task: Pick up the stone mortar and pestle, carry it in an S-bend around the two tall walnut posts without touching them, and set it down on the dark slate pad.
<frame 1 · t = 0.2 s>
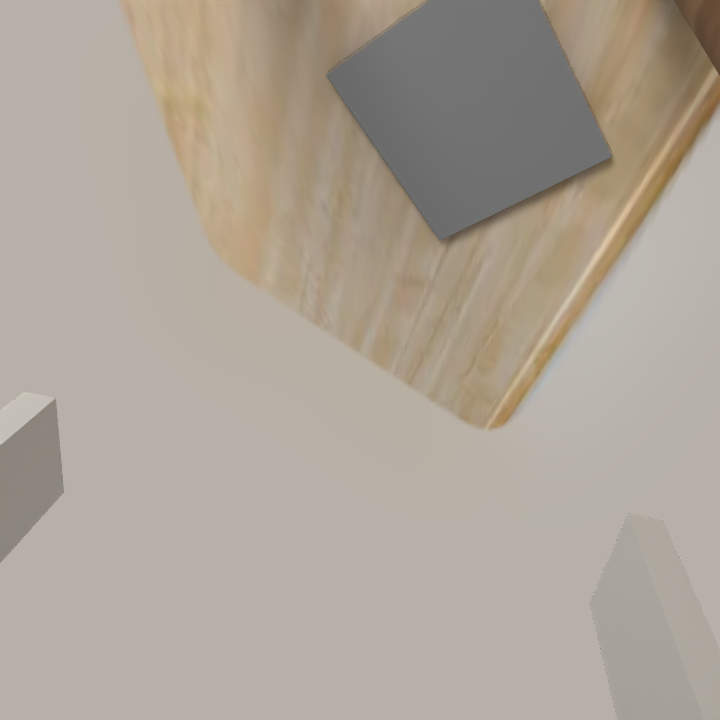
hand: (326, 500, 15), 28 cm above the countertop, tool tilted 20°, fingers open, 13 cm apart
slate pad: (470, 110, 35), on the countertop
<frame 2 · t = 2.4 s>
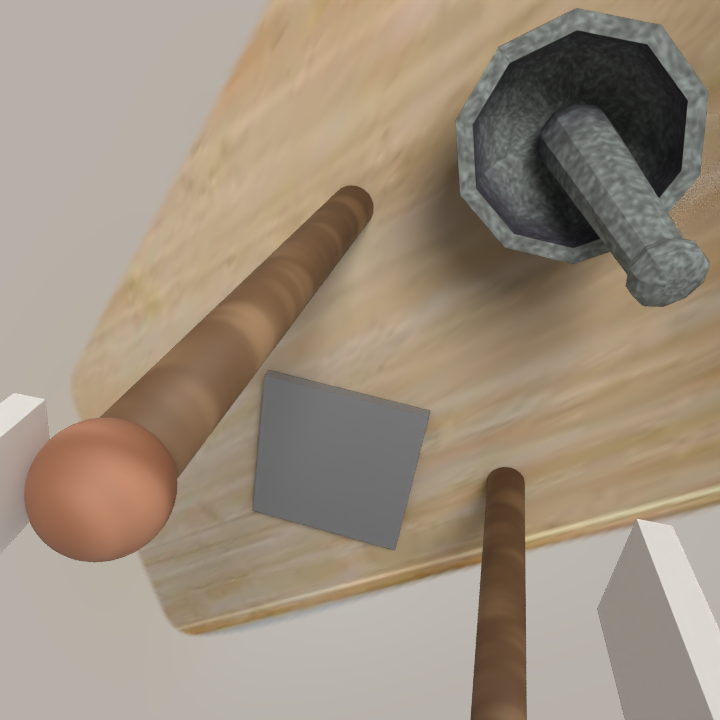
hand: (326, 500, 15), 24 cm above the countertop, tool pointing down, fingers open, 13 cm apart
post a: (352, 207, 36), on the countertop
post b: (505, 481, 42), on the countertop
slate pad: (336, 460, 44), on the countertop
mortar and pestle: (573, 133, 32), on the countertop
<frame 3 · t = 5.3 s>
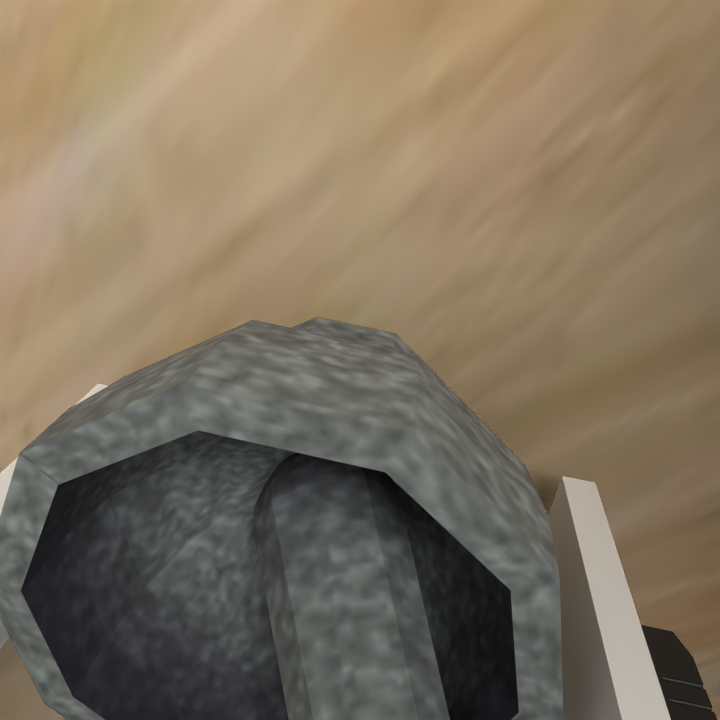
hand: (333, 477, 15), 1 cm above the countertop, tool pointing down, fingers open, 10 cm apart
mortar and pestle: (357, 442, 17), on the countertop, touching gripper
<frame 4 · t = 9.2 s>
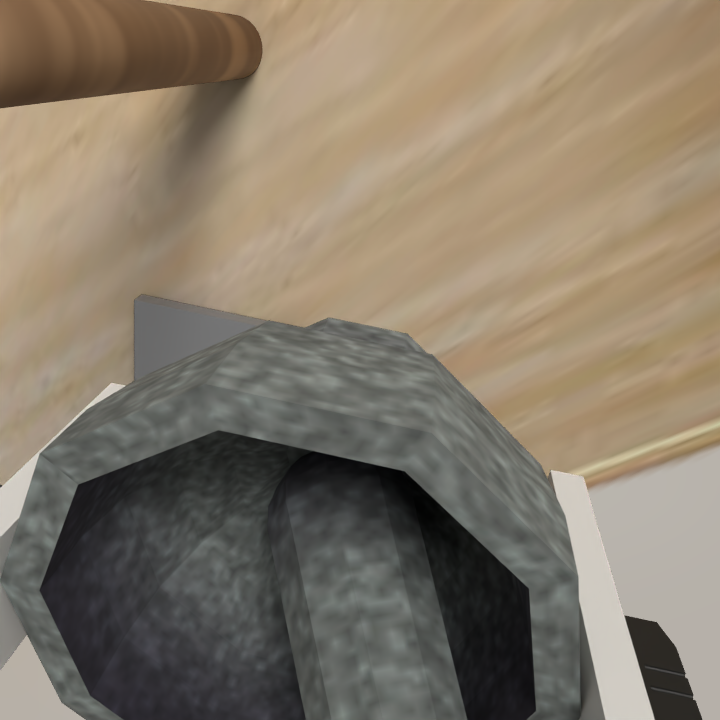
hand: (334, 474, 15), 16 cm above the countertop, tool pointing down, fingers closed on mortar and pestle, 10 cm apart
post a: (234, 47, 26), on the countertop
slate pad: (237, 416, 34), on the countertop
mortar and pestle: (369, 442, 17), point 14 cm above the countertop, touching gripper
when the fingers open (4 cm above the countertop, at t = 13.0 s): mortar and pestle drops 1 cm, resting on slate pad.
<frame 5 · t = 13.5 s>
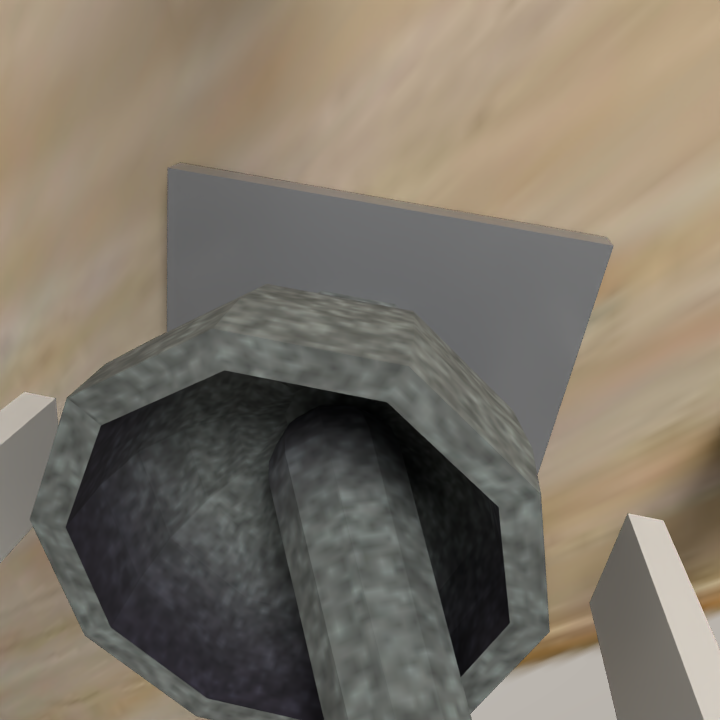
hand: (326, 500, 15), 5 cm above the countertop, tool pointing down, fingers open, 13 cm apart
slate pad: (356, 400, 19), on the countertop
mortar and pestle: (361, 408, 18), point 1 cm above the countertop, touching slate pad
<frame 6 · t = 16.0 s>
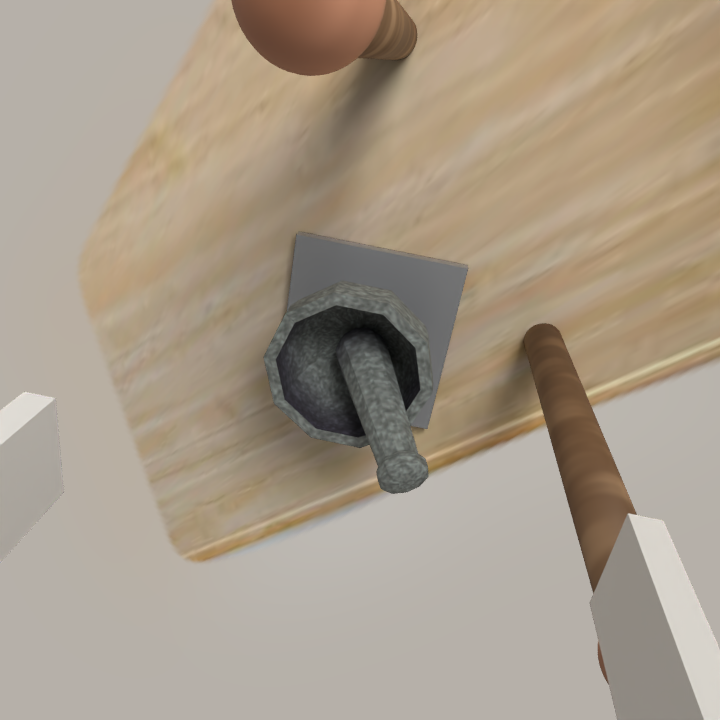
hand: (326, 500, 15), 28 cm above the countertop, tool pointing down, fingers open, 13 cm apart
post a: (395, 36, 35), on the countertop
post b: (542, 340, 42), on the countertop
slate pad: (366, 332, 43), on the countertop
mortar and pestle: (369, 334, 42), point 1 cm above the countertop, touching slate pad
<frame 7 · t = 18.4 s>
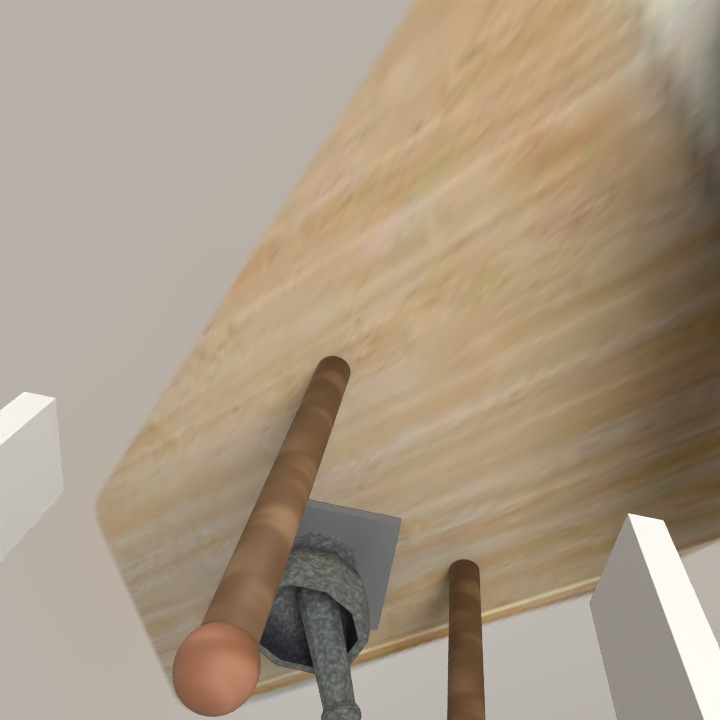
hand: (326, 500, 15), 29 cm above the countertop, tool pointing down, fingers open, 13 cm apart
post a: (333, 371, 46), on the countertop
post b: (464, 570, 52), on the countertop
slate pad: (325, 559, 54), on the countertop
mortar and pestle: (326, 564, 53), point 1 cm above the countertop, touching slate pad
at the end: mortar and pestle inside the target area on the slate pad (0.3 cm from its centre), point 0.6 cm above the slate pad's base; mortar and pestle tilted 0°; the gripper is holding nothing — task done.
